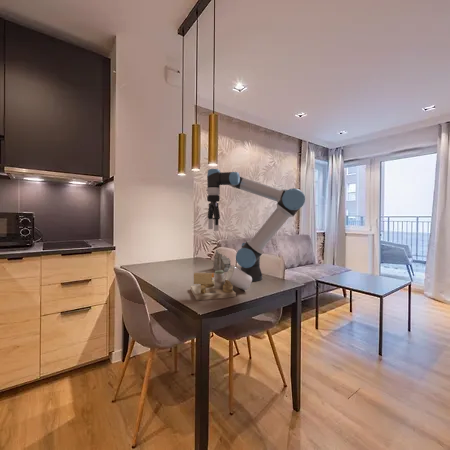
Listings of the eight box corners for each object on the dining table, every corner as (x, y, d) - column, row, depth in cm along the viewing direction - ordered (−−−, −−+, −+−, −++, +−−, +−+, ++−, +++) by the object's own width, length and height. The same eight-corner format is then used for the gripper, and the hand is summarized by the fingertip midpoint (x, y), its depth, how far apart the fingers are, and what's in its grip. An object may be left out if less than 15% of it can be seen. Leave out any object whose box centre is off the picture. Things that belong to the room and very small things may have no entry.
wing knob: (194, 291, 129) (194, 272, 128) (214, 291, 129) (214, 272, 128) (193, 293, 126) (193, 274, 125) (213, 293, 125) (213, 274, 125)
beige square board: (225, 286, 145) (225, 267, 145) (235, 296, 128) (236, 274, 128) (190, 289, 139) (190, 269, 139) (196, 300, 122) (196, 277, 122)
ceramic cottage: (220, 272, 178) (221, 251, 179) (209, 268, 192) (210, 249, 193) (238, 271, 186) (239, 251, 187) (227, 268, 200) (227, 249, 201)
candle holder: (250, 289, 133) (231, 279, 130) (241, 293, 140) (222, 283, 138) (254, 273, 139) (236, 263, 136) (245, 278, 146) (227, 268, 144)
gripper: (203, 196, 165) (202, 228, 166) (212, 193, 141) (212, 231, 142) (214, 196, 167) (214, 228, 168) (225, 193, 143) (225, 231, 144)
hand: (213, 230), depth 155 cm, fingers open, 13 cm apart
